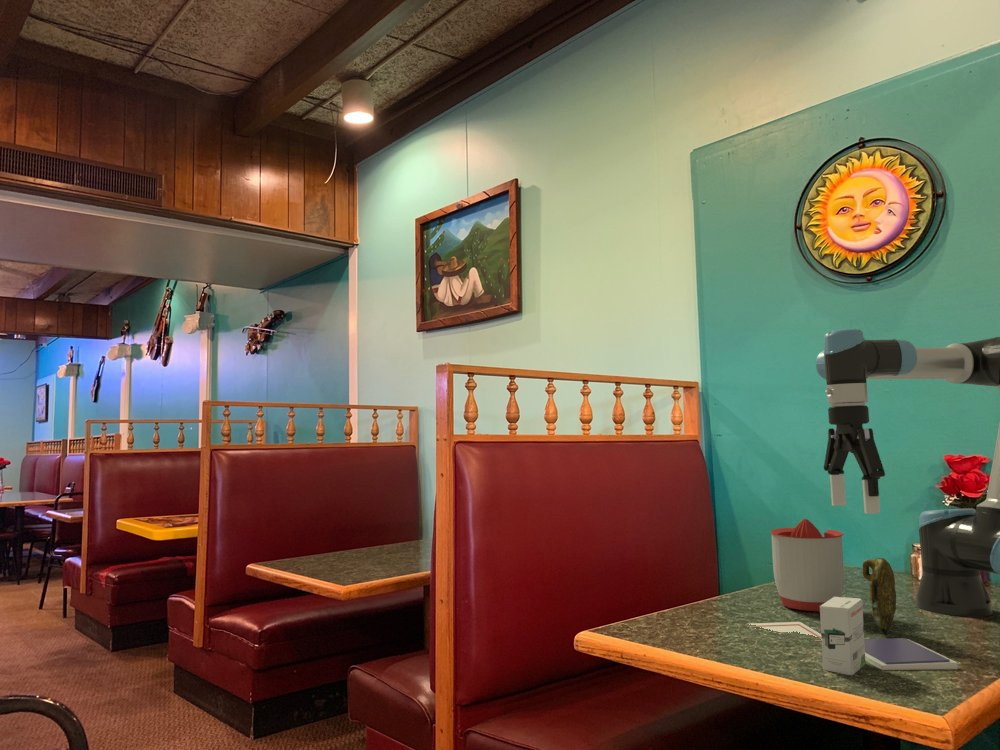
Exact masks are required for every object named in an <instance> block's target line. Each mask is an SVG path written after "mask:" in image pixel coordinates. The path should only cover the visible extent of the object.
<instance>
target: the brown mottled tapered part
mask: <svg viewBox="0 0 1000 750" xmlns="http://www.w3.org/2000/svg"><path fill="white" fill-rule="evenodd" d="M870 569H871V571H872V572H871V573H870ZM862 575H863V578H864V579H865V580H867V581H868V582H870V583H869V587H870V589H869V594H870V596H869V601H870V602H871V616H872V618H873V619H874V622H875V624H876V626H877V627H878V628H879V630H880V632H881V633H882V634H883V635H885V634H886V635H887V634H889V632H890V631H891V630H892V629H891V628H892V626H893V622H894V617H895V613H896V610H897V592H896V587H895V586H896V580H895V574H894V570H893V569H892V566H891V564H890V563H889V562H888V561H887V560H886V559H885V558H883V557H876V558H875V559H871V558H870V559H865V560H863V562H862Z"/></svg>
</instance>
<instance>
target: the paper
mask: <svg viewBox="0 0 1000 750" xmlns="http://www.w3.org/2000/svg"><path fill="white" fill-rule="evenodd" d="M748 624H749V625H750V624H751V625H756V626H747V627H746V628H751V627H760V628H761V627H762V628H764V629H768V630H769V629H770V630H771V631H772V630H773V631H778V632H788V633H789V632H790V633H791V632H793V631H794V632H796V631H797V632H798V633H799V632H800V634H806V635H808V634H809V635H813V636H815V637H819V638H820V639H821V632H820V633H819V632H818V631H817V630H815V629H813V628H811V627H809V626H808V625H806V624H805V623H803V622H801V621H790V622H789V621H787V622H785V621H783V622H759V623H758V622H757V623H755V622H754V623H753V622H751V623H748ZM771 631H770V632H771ZM821 641H822V640H815V641H814V642H821Z"/></svg>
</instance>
